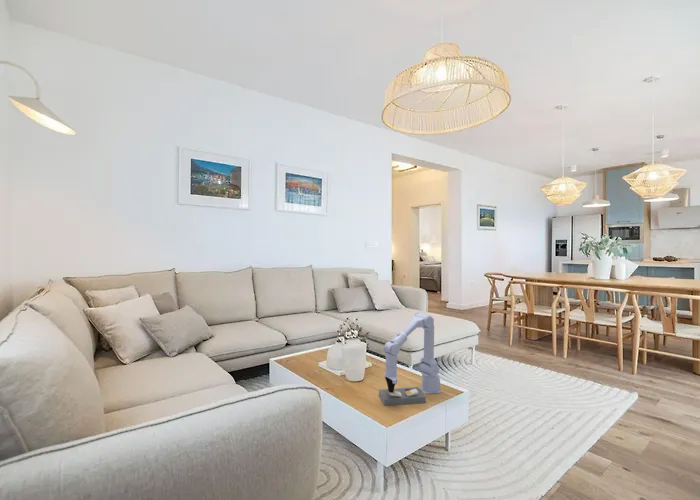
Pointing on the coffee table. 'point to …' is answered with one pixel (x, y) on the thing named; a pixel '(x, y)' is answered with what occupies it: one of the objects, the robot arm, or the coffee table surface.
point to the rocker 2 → (411, 392)
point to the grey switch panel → (397, 400)
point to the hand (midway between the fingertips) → (390, 391)
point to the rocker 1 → (396, 393)
